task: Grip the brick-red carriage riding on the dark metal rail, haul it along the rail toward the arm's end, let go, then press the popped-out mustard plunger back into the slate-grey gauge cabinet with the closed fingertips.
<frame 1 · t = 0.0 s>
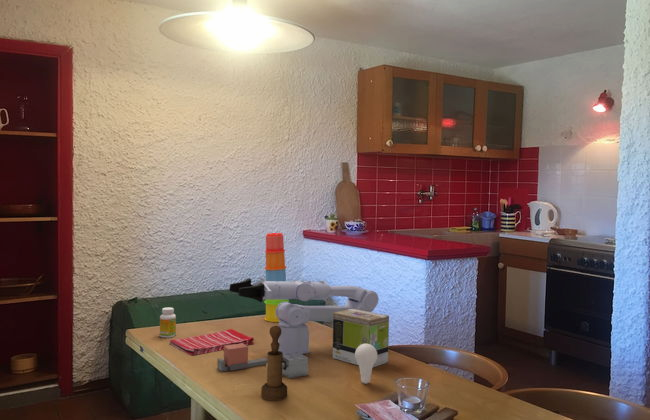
hand: (234, 289, 171), 22 cm above the table, tool horizontal, fingers open, 7 cm apart
stacking cups: (276, 319, 226), on the table
dish towel: (212, 345, 190), on the table
supplement bottle: (167, 336, 198), on the table
plunger: (276, 366, 158), point 3 cm above the table, slide at 2.5 cm
cabinet: (293, 373, 161), on the table
tea box: (359, 361, 175), on the table
rail: (248, 365, 167), on the table
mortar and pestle: (274, 396, 144), on the table
carriage: (235, 356, 165), point 3 cm above the table, slide at 4.0 cm
lightbulb: (365, 384, 154), on the table
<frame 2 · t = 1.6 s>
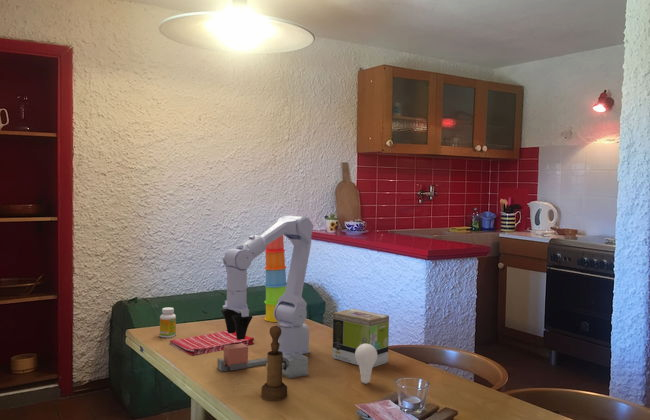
hand: (236, 336, 165), 9 cm above the table, tool pointing down, fingers open, 7 cm apart
nothing on the table moved.
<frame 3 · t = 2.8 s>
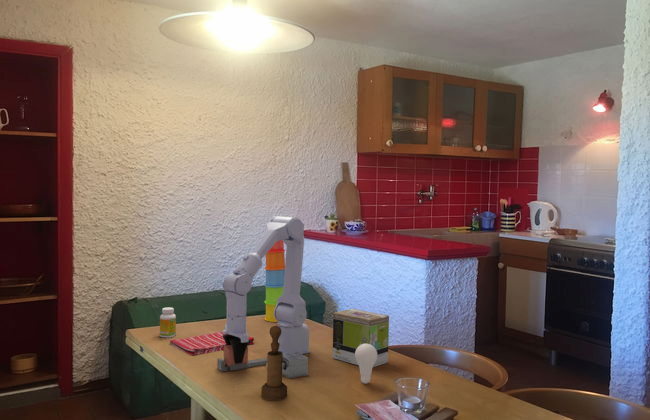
hand: (235, 360, 165), 2 cm above the table, tool pointing down, fingers closed on carriage, 4 cm apart
carriage: (235, 356, 165), point 3 cm above the table, slide at 4.0 cm, touching gripper
everything else where it was.
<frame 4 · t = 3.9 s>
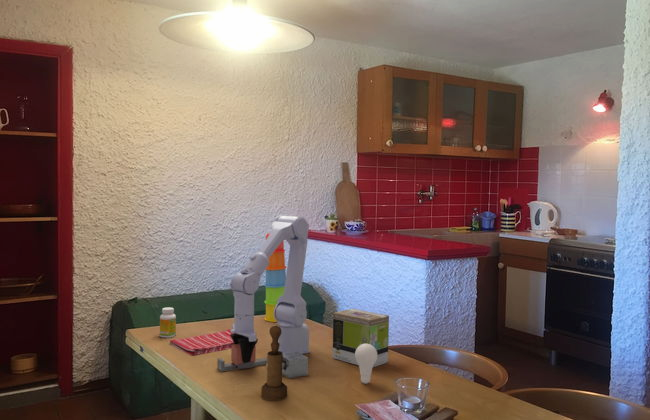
hand: (243, 359, 166), 2 cm above the table, tool pointing down, fingers closed on carriage, 4 cm apart
carriage: (243, 355, 166), point 3 cm above the table, slide at 1.6 cm, touching gripper
everything else where it was.
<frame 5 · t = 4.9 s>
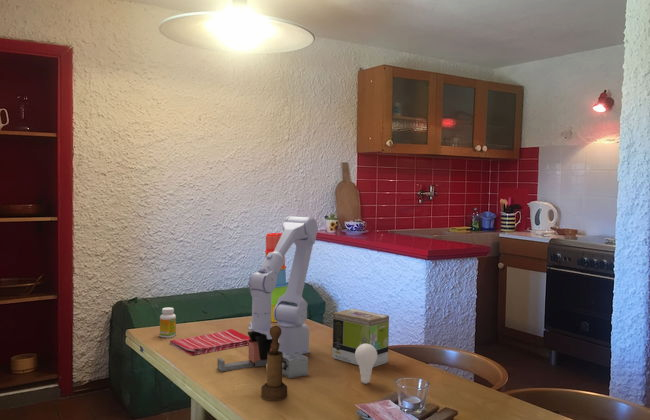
hand: (260, 357, 169), 2 cm above the table, tool pointing down, fingers closed on carriage, 4 cm apart
carriage: (260, 353, 169), point 3 cm above the table, slide at -3.8 cm, touching gripper
everything else where it was.
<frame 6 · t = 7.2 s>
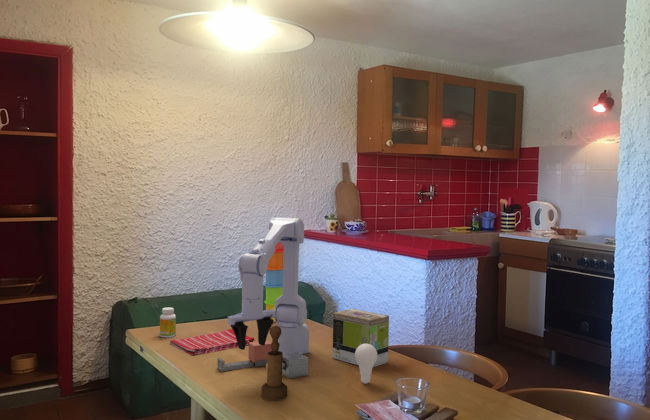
hand: (251, 346, 154), 9 cm above the table, tool pointing down, fingers open, 6 cm apart
carriage: (260, 353, 169), point 3 cm above the table, slide at -3.8 cm
everything else where it was.
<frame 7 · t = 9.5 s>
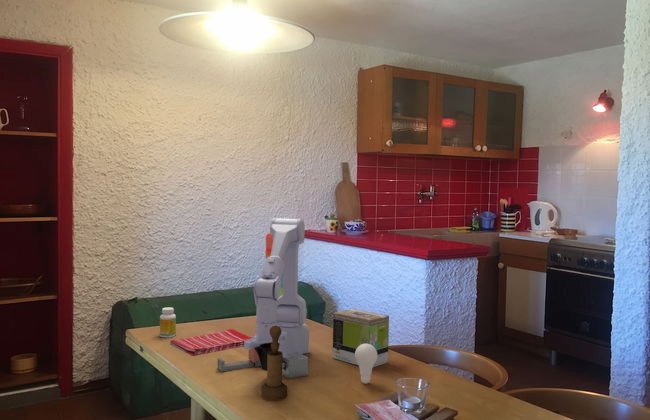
hand: (265, 369, 157), 2 cm above the table, tool pointing down, fingers closed
plunger: (278, 366, 159), point 3 cm above the table, slide at 1.8 cm, touching gripper
everything else where it was.
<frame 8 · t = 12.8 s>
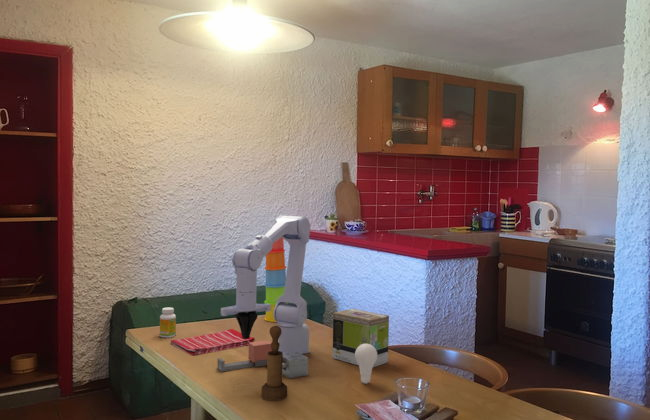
hand: (245, 338, 161), 10 cm above the table, tool pointing down, fingers closed
plunger: (284, 365, 160), point 3 cm above the table, slide at 0.0 cm
everything else where it was.
at the end: carriage slide at -3.8 cm; plunger slide at 0.0 cm; the gripper is holding nothing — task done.
